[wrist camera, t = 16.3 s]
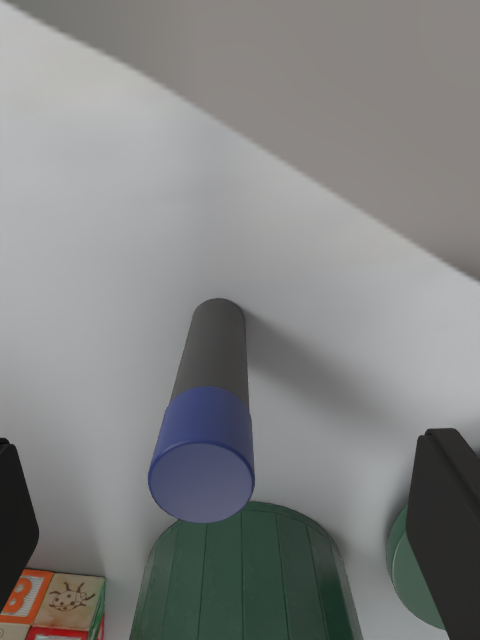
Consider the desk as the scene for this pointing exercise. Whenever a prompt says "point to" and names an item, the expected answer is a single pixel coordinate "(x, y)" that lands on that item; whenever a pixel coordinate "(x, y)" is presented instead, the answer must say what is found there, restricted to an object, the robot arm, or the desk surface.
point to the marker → (207, 423)
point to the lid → (409, 575)
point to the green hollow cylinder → (246, 581)
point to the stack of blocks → (54, 607)
